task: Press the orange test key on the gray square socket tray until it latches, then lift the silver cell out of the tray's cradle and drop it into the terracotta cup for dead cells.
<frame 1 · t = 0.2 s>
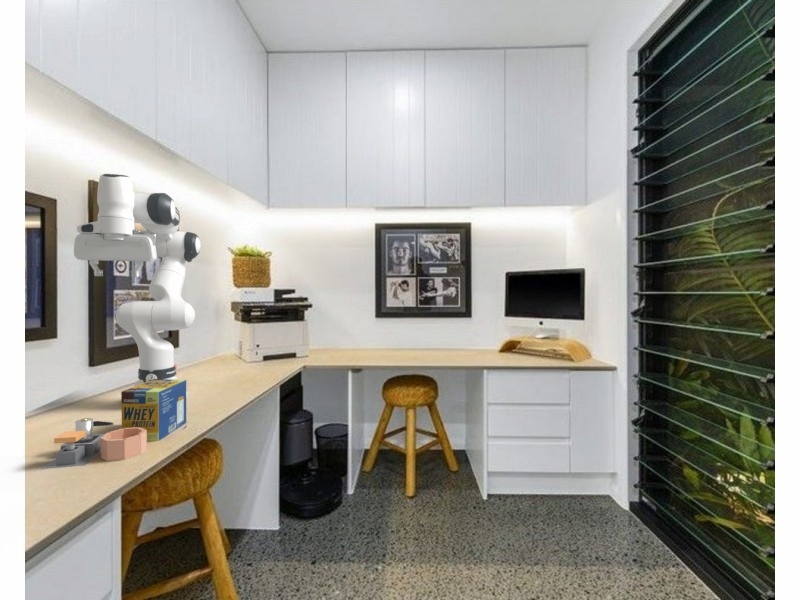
hand: (117, 276, 115), 48 cm above the worktop, fingers open, 8 cm apart
gray square socket tray: (78, 461, 99), on the worktop
test key: (70, 443, 96), point 6 cm above the worktop, slide at 0.0 cm
phone: (82, 434, 119), on the worktop
cell: (84, 450, 102), point 1 cm above the worktop, touching gray square socket tray
protein box: (156, 436, 117), on the worktop
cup: (124, 458, 101), on the worktop
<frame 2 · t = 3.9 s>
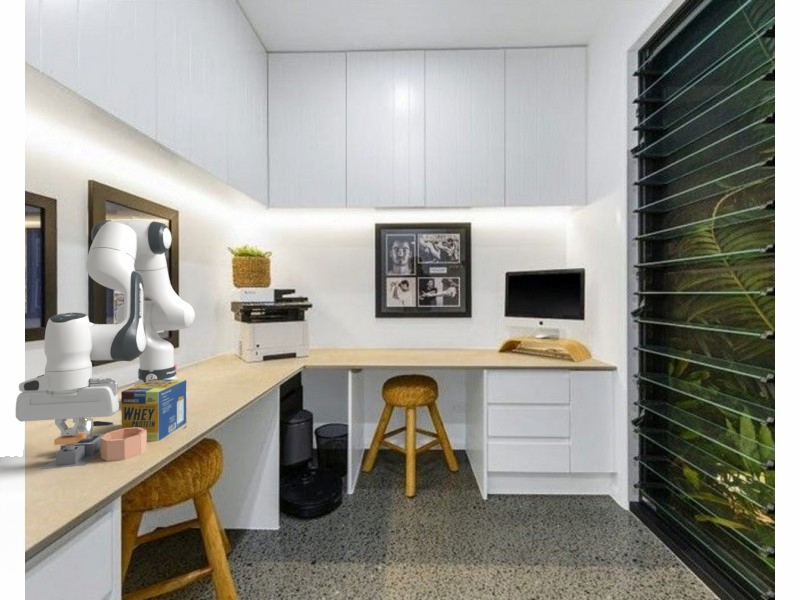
hand: (69, 435, 96), 8 cm above the worktop, fingers closed, pressing on test key
test key: (70, 445, 96), point 5 cm above the worktop, slide at 0.4 cm, touching gripper
everything else where it was.
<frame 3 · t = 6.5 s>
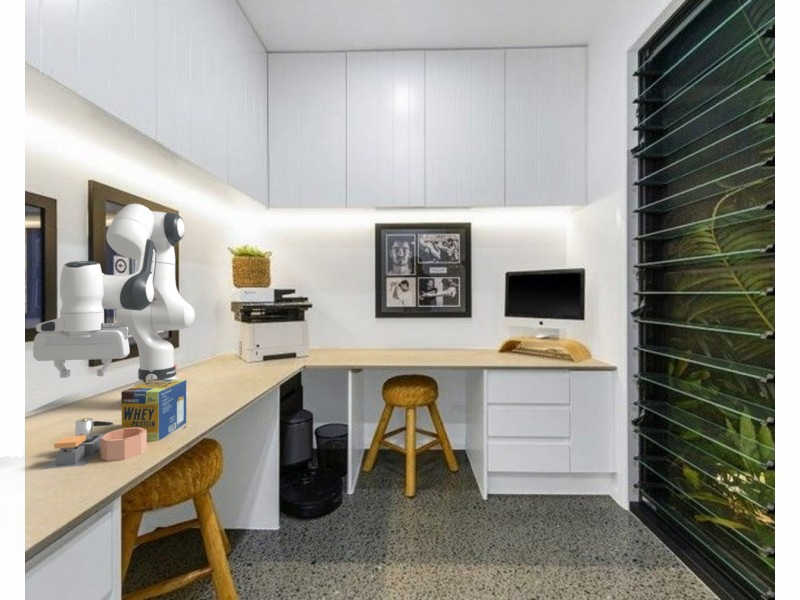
hand: (83, 376, 102), 21 cm above the worktop, fingers open, 7 cm apart
test key: (70, 448, 96), point 5 cm above the worktop, slide at 1.2 cm
everything else where it was.
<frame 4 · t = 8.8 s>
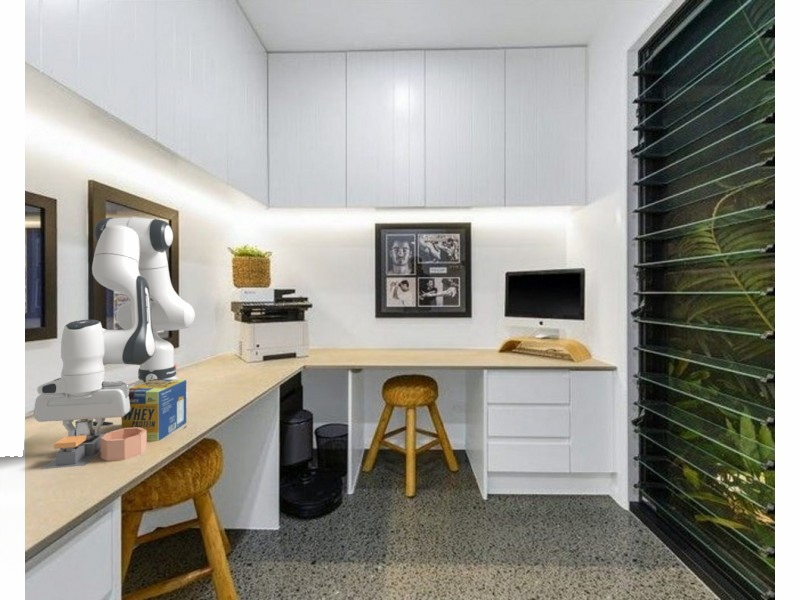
hand: (84, 435, 102), 6 cm above the worktop, fingers closed on cell, 4 cm apart
cell: (84, 450, 102), point 1 cm above the worktop, touching gray square socket tray, gripper
everything else where it was.
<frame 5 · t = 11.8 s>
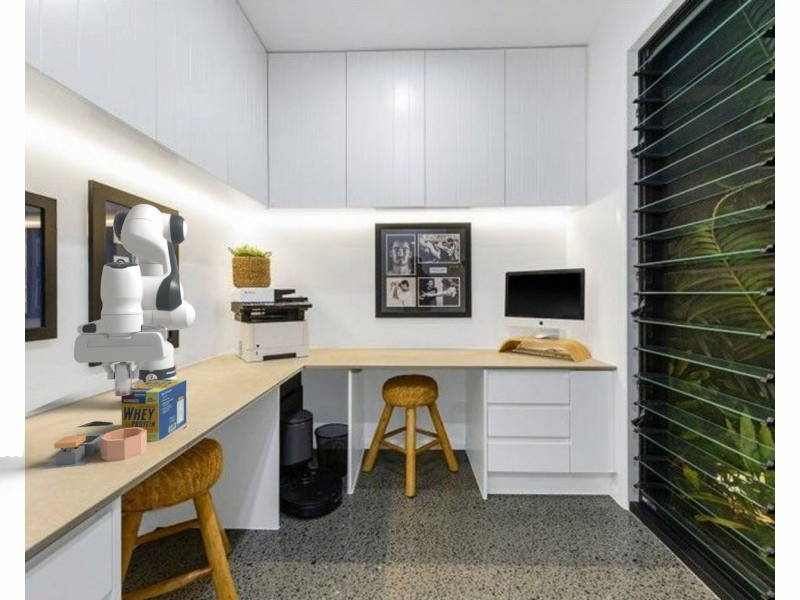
hand: (123, 378, 101), 21 cm above the worktop, fingers closed on cell, 4 cm apart
cell: (123, 394, 101), point 17 cm above the worktop, touching gripper
everything else where it was.
when the fingers open (7 cm above the worktop, at t = 14.6 s): cell drops 2 cm, resting on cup.
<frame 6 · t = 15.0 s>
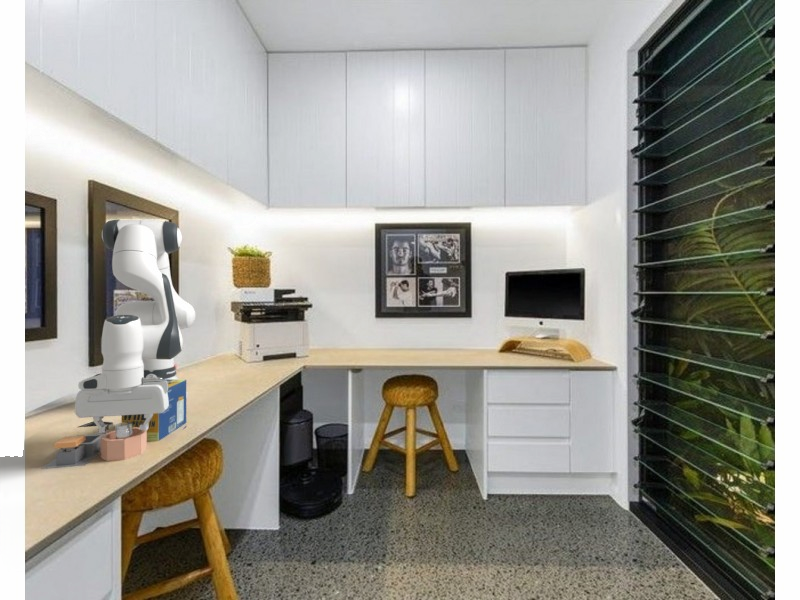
hand: (124, 431, 101), 7 cm above the worktop, fingers open, 8 cm apart
cell: (124, 454, 101), point 1 cm above the worktop, touching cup
everything else where it was.
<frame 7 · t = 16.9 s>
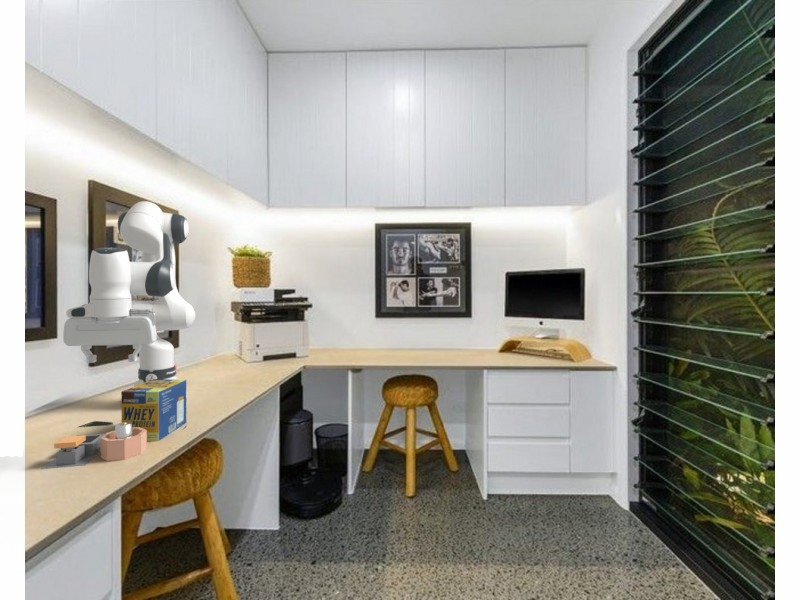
hand: (112, 361, 103), 25 cm above the worktop, fingers open, 8 cm apart
nothing on the worktop moved.
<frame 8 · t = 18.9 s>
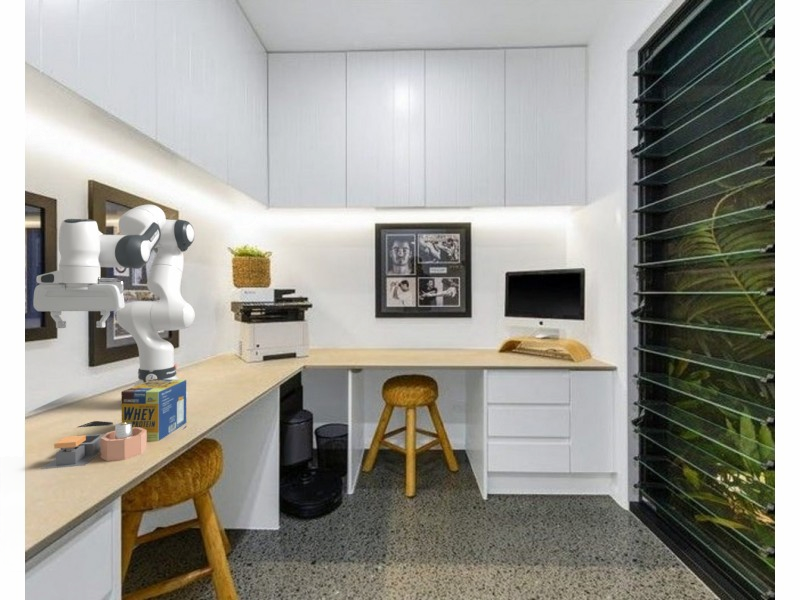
hand: (81, 327, 108), 33 cm above the worktop, fingers open, 8 cm apart
nothing on the worktop moved.
at the end: cell 0.0 cm off-centre on the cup, point 1.0 cm above the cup's base; test key slide at 1.2 cm; the gripper is holding nothing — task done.
